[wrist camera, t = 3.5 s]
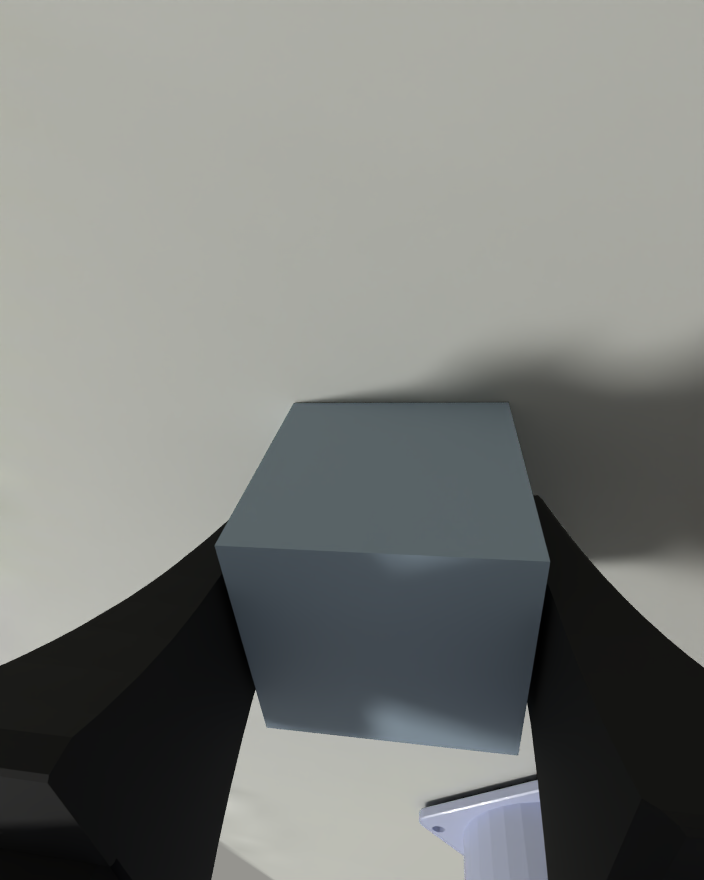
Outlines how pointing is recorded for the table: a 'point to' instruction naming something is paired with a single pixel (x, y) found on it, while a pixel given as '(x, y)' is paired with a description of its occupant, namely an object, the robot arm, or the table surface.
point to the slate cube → (391, 574)
